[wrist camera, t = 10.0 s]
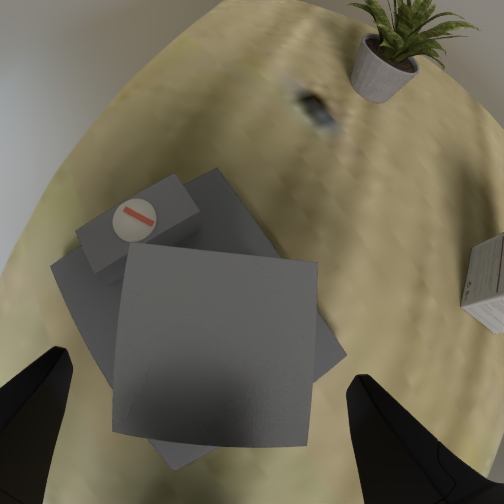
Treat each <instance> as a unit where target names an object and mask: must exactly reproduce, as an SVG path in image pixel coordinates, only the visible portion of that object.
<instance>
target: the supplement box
mask: <svg viewBox="0 0 504 504" xmlns="http://www.w3.org/2000/svg"><path fill="white" fill-rule="evenodd" d="M461 308H463V309H464V310H465V311H467V312H468V313H469V314H471V315H472V316H473V317H474V318H476V319H477V320H478V321H480V322H481V323H482V324H483V325H485V326H486V327H487V328H488V329H490V330H491V331H492V332H493V333H495V334H497V333H503V332H504V232H503V233H501V234H499V235H497V236H495V237H493V238H491V239H488V240H486V241H484V242H482V243H480V244H478V245H476V246H474V247H473V248H472V251H471V257H470V263H469V268H468V273H467V278H466V283H465V288H464V292H463V297H462V301H461Z"/></svg>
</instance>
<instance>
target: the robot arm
mask: <svg viewBox="0 0 504 504" xmlns="http://www.w3.org/2000/svg"><path fill="white" fill-rule="evenodd" d="M72 374H73V365H72V362H71V359H70V356H69V353H68V351H67V349H66V348H63V347H59V346H54V347H52V348H51V349H50V350H48V351H47V352H46V353H44V354H43V355H42V356H40V357H39V358H38V359H37V360H35V361H34V362H33V363H31V364H30V365H29V366H27V367H26V368H25V369H24V370H22V371H21V372H20V373H19V374H17V375H16V376H15V377H13V378H12V379H11V380H10V381H8V382H7V383H6V384H5V385H3V386H2V387H1V388H0V504H43V499H44V493H45V488H46V483H47V478H48V474H49V469H50V465H51V461H52V456H53V452H54V449H55V445H56V441H57V437H58V434H59V430H60V427H61V423H62V420H63V416H64V413H65V408H66V403H67V398H68V393H69V388H70V383H71V379H72ZM346 399H347V408H348V417H349V427H350V435H351V440H352V445H353V449H354V454H355V459H356V463H357V468H358V473H359V478H360V483H361V488H362V493H363V499H364V504H504V484H503V483H496V482H493V481H490V480H488V479H486V478H485V477H483V476H482V475H481V474H479V473H478V472H476V471H475V470H474V469H472V468H471V467H470V466H468V465H467V464H466V463H464V462H463V461H462V460H461V459H459V458H458V457H457V456H455V455H454V454H453V453H452V452H451V451H450V450H449V449H447V448H446V447H445V446H444V445H443V444H442V443H441V442H440V441H438V439H437V438H436V437H434V436H433V435H432V434H431V433H430V432H429V431H428V430H427V429H426V428H425V427H424V426H423V425H422V424H421V423H420V422H418V421H417V420H416V419H415V418H414V417H413V416H412V415H411V414H410V413H409V412H408V411H407V410H406V409H405V408H404V407H403V406H402V405H400V404H399V403H398V402H397V401H396V400H395V399H394V398H393V397H392V396H391V395H390V394H389V393H388V392H387V391H386V390H385V389H384V388H382V387H381V386H380V385H379V384H378V383H377V382H376V381H375V380H374V379H373V378H372V377H371V376H370V375H368V374H359V375H356V376H355V377H354V379H353V381H352V382H351V384H350V386H349V387H348V389H347V392H346Z"/></svg>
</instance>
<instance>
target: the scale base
mask: <svg viewBox="0 0 504 504" xmlns="http://www.w3.org/2000/svg"><path fill="white" fill-rule="evenodd" d="M75 232H76V234H77V236H78V239H79V241H80V243H81V246H79V247H78V248H76V249H75V250H73V251H72V252H70V253H69V254H67V255H66V256H64V257H63V258H61V259H60V260H58V261H57V262H55V263H54V264H53V265H51V266H50V267H51V270H52V272H53V275H54V277H55V280H56V282H57V284H58V287H59V289H60V291H61V294H62V296H63V298H64V300H65V303H66V305H67V307H68V309H69V311H70V313H71V316H72V318H73V320H74V322H75V324H76V326H77V328H78V330H79V332H80V334H81V336H82V338H83V339H84V341H85V343H86V345H87V347H88V349H89V351H90V352H91V354H92V356H93V358H94V360H95V361H96V363H97V365H98V366H99V368H100V370H101V372H102V373H103V375H104V377H105V378H106V380H107V381H108V383H109V385H110V386H111V388H112V389H113V379H114V362H115V349H116V337H117V327H118V318H119V309H120V301H121V294H122V287H123V280H124V274H125V267H126V261H127V256H128V250H129V245H130V242H134V243H143V244H152V245H161V246H170V247H179V248H188V249H198V250H207V251H216V252H225V253H234V254H243V255H253V256H262V257H271V258H281V257H280V255H279V254H278V252H277V251H276V250H275V248H274V247H273V245H272V244H271V242H270V241H269V240H268V238H267V237H266V235H265V234H264V232H263V231H262V230H261V228H260V227H259V225H258V224H257V222H256V221H255V220H254V218H253V217H252V215H251V214H250V213H249V211H248V210H247V208H246V207H245V205H244V204H243V203H242V201H241V200H240V198H239V197H238V196H237V194H236V193H235V191H234V190H233V189H232V187H231V186H230V184H229V183H228V182H227V180H226V179H225V177H224V176H223V175H222V173H221V172H220V171H219V169H218V168H216V169H214V170H212V171H210V172H208V173H206V174H204V175H202V176H200V177H198V178H196V179H194V180H192V181H190V182H188V183H187V184H185V185H183V184H182V183H181V181H180V180H179V178H178V176H177V175H176V173H174V174H172V175H170V176H168V177H166V178H164V179H162V180H161V181H159V182H157V183H155V184H153V185H151V186H149V187H148V188H146V189H144V190H142V191H140V192H139V193H137V194H135V195H133V196H132V197H130V198H128V199H126V200H125V201H123V202H121V203H120V204H118V205H116V206H115V207H113V208H111V209H110V210H108V211H106V212H105V213H103V214H101V215H100V216H98V217H96V218H95V219H93V220H92V221H90V222H89V223H87V224H85V225H84V226H82V227H81V228H79V229H78V230H76V231H75ZM281 259H282V258H281ZM346 356H347V354H346V352H345V351H344V349H343V348H342V346H341V345H340V343H339V342H338V340H337V339H336V337H335V336H334V334H333V333H332V331H331V330H330V328H329V327H328V325H327V324H326V322H325V321H324V320H323V318H322V317H321V315H320V314H319V312H318V311H317V313H316V337H315V356H314V372H313V383H314V382H315V381H316V380H318V379H319V378H320V377H321V376H323V375H324V374H325V373H326V372H328V371H329V370H330V369H331V368H333V367H334V366H335V365H336V364H337V363H339V362H340V361H341V360H342V359H343V358H345V357H346ZM147 439H148V438H147ZM148 441H149V442H150V443H151V445H152V446H153V447H154V448H155V450H156V451H157V452H158V453H159V454H160V456H161V457H162V458H163V459H164V461H165V462H166V463H167V464H168V465H169V466H170V468H171V469H172V470H173V471H176V470H178V469H180V468H181V467H183V466H185V465H187V464H189V463H191V462H193V461H195V460H197V459H198V458H200V457H202V456H204V455H206V454H207V453H209V452H211V451H213V450H214V449H216V448H218V447H220V446H206V445H194V444H184V443H176V442H168V441H161V440H154V439H148Z"/></svg>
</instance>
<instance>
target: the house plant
mask: <svg viewBox="0 0 504 504" xmlns="http://www.w3.org/2000/svg"><path fill="white" fill-rule="evenodd" d="M364 1H365V2H366V4H367V5H368V6H367V5H363V4H358V3H351V4H348V5H353V6H356V7H359V8H361V9H364V10H365V11H367V12H369V13H370V14H371V15H372V16H373V18H374V20H375V22H374V21H373V22H374V23H375V24H376V25H377V28H378V31H379V35H378V34H371V33H369V34H365V35H364V36H363V38H362V41H361V44H360V48H359V51H358V55H357V58H356V61H355V65H354V68H353V71H352V75H351V78H350V82H351V85H352V86H353V88H354V89H355V90H356V91H357V93H359V94H360V95H361V96H362V97H364V98H366V99H367V100H370V101H372V102H375V103H383V102H386V101H388V100H389V99H390V98H391V97H392V96H393V95H394V94H395V93H396V92H398V91H399V90H400V89H401V88H402V87H403V86H404V85H405V84H407V83H408V82H409V81H410V80H411V79H412V78H413V77H414V76H416V75H417V74H418V73H419V65H418V63H417V61H416V60H415V58H414V57H413V56H415V55H422V54H423V55H427V56H430V57H432V58H433V59H435V58H434V57H439V55H438V54H437V53H436V51H434V50H433V49H431V48H435V49H440V50H443V51H445V50H444V49H442V47H441V46H440V45H439V43H437V41H435V39H442V38H452V37H463V36H450V37H441V38H435V39H427V38H430V37H438V36H441V35H451V34H450V33H446V31H453V30H457V29H462V28H467V27H472V28H475V29H477V30H479V29H478V28H476V27H475V26H473V25H471V24H469V23H466V22H461V21H449V22H445V23H441V24H439V25H437V26H436V27H434V28H432V29H429V30H427V31H424V32H421V33H419V34H418V32H419V31H420V29H421V27H422V26H424V25H425V24H426V23H428V22H429V21H431V20H433V19H435V18H437V17H439V16H443V15H456V16H458V17H460V16H459V15H457V14H454V13H451V12H444V13H440V14H437V15H435V16H433V17H432V18H430V19H429V20H427V19H428V17H430V16H431V14H432V13H433V12H434V10H435V4H433V5H432V6H430V8H429V9H428V7H429V5H430V4H431V1H432V0H415V2H414V3H413V7H412V10H411V0H407V5H406V4H404V3H403V0H397V3H398V7H399V8H398V14H397V12H396V0H394V11H395V12H394V14H395V15H394V16H395V25H394V26H395V27H394V26H393V28H394V31H393V30H392V28H391V26H390V23H389V21H388V18H387V16H386V14H385V12H384V10H383V9H382V8H381V6H380V5H379V4H378V2H377V1H376V0H364ZM388 3H389V2H388ZM389 6H390V5H389ZM427 9H428V10H427ZM390 10H391V9H390ZM391 15H392V14H391ZM460 18H462V17H460ZM426 20H427V21H426ZM392 22H393V19H392ZM414 28H415V29H414ZM413 29H414V30H413ZM412 31H413V32H412ZM445 53H446V51H445ZM433 56H434V57H433ZM435 60H437V59H435ZM437 62H439V64H440V65H441V67H442V69H443V71H444V68H445V67H444V65H443V64H442V63H441V62H440V61H439V60H437Z"/></svg>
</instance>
